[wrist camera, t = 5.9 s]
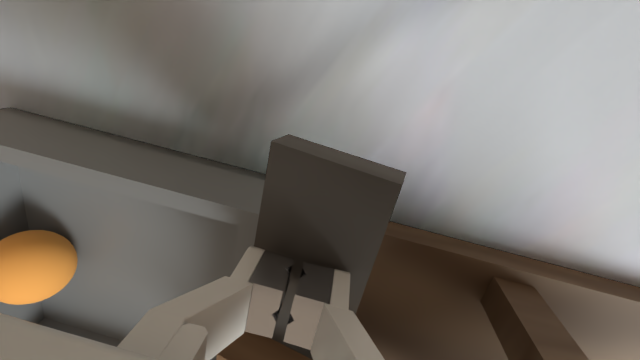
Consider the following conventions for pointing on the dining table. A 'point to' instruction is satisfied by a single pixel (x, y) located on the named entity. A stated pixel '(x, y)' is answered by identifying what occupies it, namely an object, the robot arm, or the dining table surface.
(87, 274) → the tray
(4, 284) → the ball
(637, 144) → the dining table surface
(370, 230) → the lever
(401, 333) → the lever stand
